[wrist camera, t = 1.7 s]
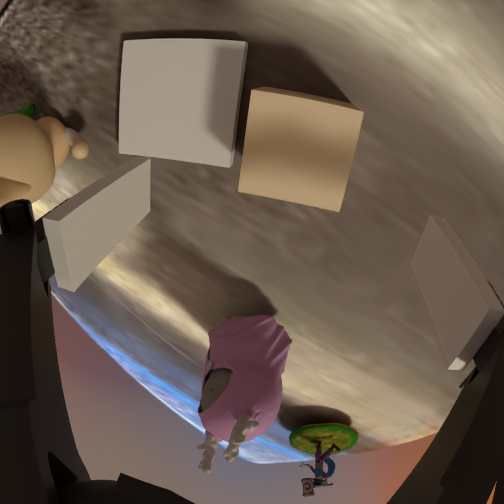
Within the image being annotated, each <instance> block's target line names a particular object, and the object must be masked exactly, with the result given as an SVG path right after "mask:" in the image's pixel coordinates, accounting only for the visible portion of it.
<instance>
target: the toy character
mask: <svg viewBox="0 0 504 504" xmlns="http://www.w3.org/2000/svg"><path fill="white" fill-rule="evenodd" d="M208 335H209V341H210V347H209V350H208V353H207V358H206V363H205V372H204V376H203V383H202V397H201V400H200V405H199V408H198V414H199V416H200V418H201V422H202V424H203V426H204V428H205V429H206V431H205V434H206V436H207V437H206V440H205V442H204V443H203V444H201V445H199V446H197V449H200V450H205V451H204V452H203V456H204V459H203V460H202V461H201V462H200V465H199V466H198V468H199V469H202V470H203V471H204V472H205V473H207V474H208V473H210V472H211V468H212V461H213V459H214V457H215V455H216V447H217V445H218V443H219V442H221V441H222V440H225V441H227V442H229V445H228V447H227V449H226V451H225V452H224V457H225V459H226V461H227V462H231V461H233V460H234V458H235V457H236V456H237V455H238V453H239V450H238V447H239V445H240V444H243V443H244V442H246V441H249V440H251V439H253V438H255V437H257V436H259V435H260V434H262V433H263V432H265V431H266V430H267V429H268V428H269V427H270V426H271V425H272V423H273V422H274V420H275V418H276V416H277V414H278V412H279V409H280V404H281V400H282V379H281V375H282V373H283V372H284V368H285V361H286V358H287V355H288V350H289V347H290V344H291V343H292V339H290V337H289V336H288V334H287V333H286V332H285V331H284V327H283V326H281V325H279V324H277V322H276V320H275V319H274V318H273V317H271V316H269V315H257V316H248V317H243V316H236V317H233V318H230V319H229V320H227V321H226V322H225V323H224V324H223V325H222V326H221V327H220V328H218V329H216V330H210V331H209V333H208Z"/></svg>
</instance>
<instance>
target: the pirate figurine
mask: <svg viewBox="0 0 504 504" xmlns="http://www.w3.org/2000/svg"><path fill="white" fill-rule="evenodd" d="M358 437H359V435H358V432H357V431H356V430H355V429H354V428H352V427H350V426H347V425H345V424H340V423H326V424H310V425H306V426H302V427H300V428H297V429H295V430H294V431H293V432H292V433H291V434H290V436H289V441H290V444H291V445H292V447H294V448H296V449H298V450H301V451H304V452H307V453H310V454H315V457H316V464H315V469H313V467H312V466H311V465H309V464H303V463H302V464H303V465H301V466H308V467H309V468H311V470H312V471H313V472H314V473H315V479H313V478H305V479H302V480H301V481H302V484H303V495H302V496H304V497H306V496H313V495H315V494H314V490H313V488H315V487H327V486H329V485H333V483H332V484H328V483H327V478H329V477H331V476H332V474H333V473H334V470H335V463H334V462H333V460H331V459H330V458H328V457H329V456H330V455H332V454H336V453H339V452H342V451H344V450H347V449H349V448H351V447H352V446H353V445H354V444H356V442H357V440H358ZM321 455H322V456H321ZM324 459H325V460H324ZM324 461H325V463H326V464H328V472H327V473H325V472H324V471H323V462H324ZM301 466H300V467H301ZM323 478H325V480H323ZM313 480H314V481H313ZM313 482H314V483H313ZM323 482H324V483H323ZM313 485H314V486H313Z"/></svg>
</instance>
